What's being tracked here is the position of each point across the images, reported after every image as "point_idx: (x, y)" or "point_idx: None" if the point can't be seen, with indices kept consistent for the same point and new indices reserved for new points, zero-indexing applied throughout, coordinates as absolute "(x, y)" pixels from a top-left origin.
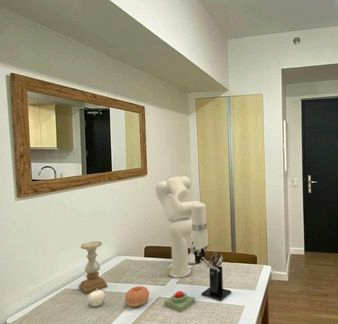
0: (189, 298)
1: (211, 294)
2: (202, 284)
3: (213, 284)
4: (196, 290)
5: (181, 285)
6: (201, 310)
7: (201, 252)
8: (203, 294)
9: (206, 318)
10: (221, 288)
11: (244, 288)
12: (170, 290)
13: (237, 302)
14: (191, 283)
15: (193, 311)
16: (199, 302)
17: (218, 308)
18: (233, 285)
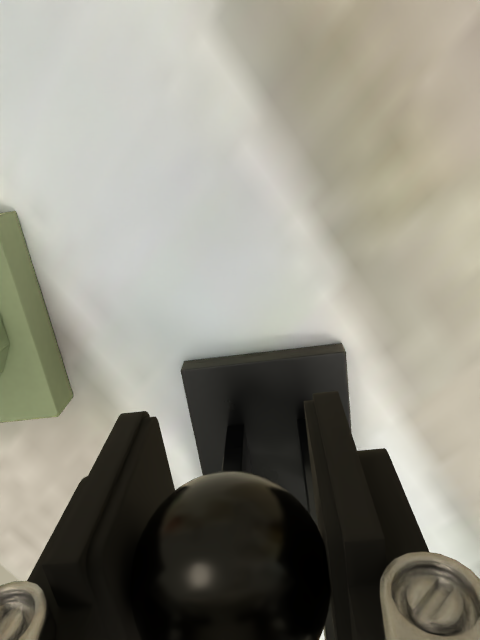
0: (23, 389)
1: (217, 449)
2: (336, 210)
3: None
4: (210, 258)
5: (173, 15)
6: (52, 497)
7: (352, 617)
8: (186, 384)
9: (27, 567)
10: (306, 499)
11: (472, 541)
12: (17, 12)
13: None
14: (281, 80)
15: (5, 467)
16: (102, 421)
17: None
18: (475, 454)
